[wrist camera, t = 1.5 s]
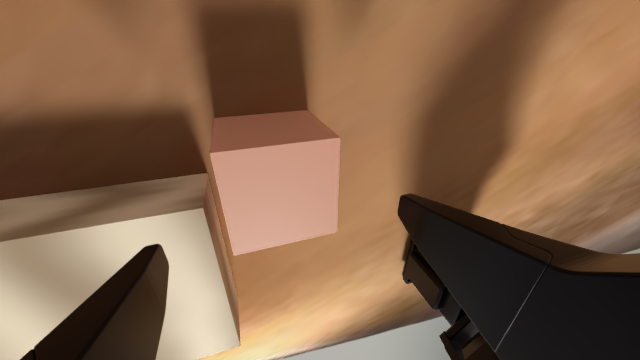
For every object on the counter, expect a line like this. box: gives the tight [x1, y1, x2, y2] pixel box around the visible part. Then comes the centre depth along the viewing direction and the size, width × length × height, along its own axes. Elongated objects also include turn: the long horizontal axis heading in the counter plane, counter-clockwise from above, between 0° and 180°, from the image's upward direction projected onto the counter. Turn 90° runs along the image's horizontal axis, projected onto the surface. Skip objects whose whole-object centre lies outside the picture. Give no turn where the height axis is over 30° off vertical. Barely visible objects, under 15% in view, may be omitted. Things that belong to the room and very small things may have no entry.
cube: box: [210, 110, 340, 256], centre depth 13 cm, size 5×5×5 cm
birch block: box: [0, 173, 240, 360], centre depth 14 cm, size 11×11×4 cm
